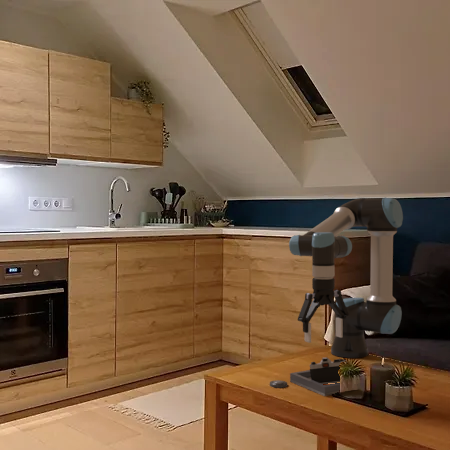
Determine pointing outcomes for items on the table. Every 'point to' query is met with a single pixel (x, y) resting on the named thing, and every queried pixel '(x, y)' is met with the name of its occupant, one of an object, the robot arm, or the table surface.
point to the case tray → (313, 383)
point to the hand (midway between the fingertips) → (323, 339)
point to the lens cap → (278, 384)
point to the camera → (325, 371)
